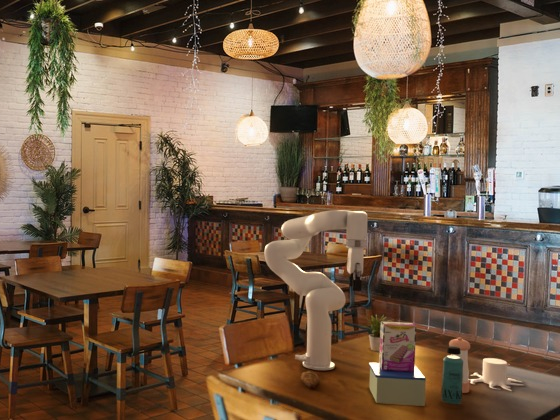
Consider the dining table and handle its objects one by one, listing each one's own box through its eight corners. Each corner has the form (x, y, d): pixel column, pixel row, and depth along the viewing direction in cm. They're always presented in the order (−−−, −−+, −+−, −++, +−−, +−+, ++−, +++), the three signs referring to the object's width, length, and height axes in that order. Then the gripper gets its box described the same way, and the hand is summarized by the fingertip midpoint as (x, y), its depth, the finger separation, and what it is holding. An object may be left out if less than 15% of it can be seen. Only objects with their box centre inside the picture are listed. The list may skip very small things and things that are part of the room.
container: (376, 403, 220) (377, 377, 219) (369, 388, 235) (370, 364, 235) (424, 406, 217) (425, 380, 217) (414, 391, 233) (415, 367, 232)
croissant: (298, 377, 247) (298, 364, 247) (316, 378, 246) (316, 365, 246) (302, 389, 233) (302, 375, 233) (321, 390, 233) (321, 376, 233)
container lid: (375, 377, 219) (375, 375, 219) (368, 364, 235) (368, 362, 235) (425, 380, 217) (425, 377, 217) (415, 367, 232) (415, 364, 232)
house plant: (390, 356, 279) (391, 319, 278) (357, 351, 286) (359, 315, 285) (397, 349, 291) (398, 313, 290) (365, 344, 298) (366, 309, 297)
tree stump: (534, 385, 241) (535, 363, 241) (503, 393, 231) (504, 371, 231) (483, 371, 259) (484, 351, 258) (453, 378, 249) (454, 357, 248)
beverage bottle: (437, 402, 221) (439, 344, 220) (455, 401, 222) (457, 344, 221) (447, 408, 215) (449, 349, 214) (466, 408, 215) (468, 349, 215)
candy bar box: (382, 371, 224) (383, 324, 223) (378, 367, 229) (379, 321, 228) (415, 372, 223) (416, 325, 222) (411, 368, 228) (412, 322, 227)
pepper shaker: (473, 392, 232) (475, 340, 231) (453, 393, 231) (455, 340, 230) (462, 386, 239) (464, 335, 238) (443, 386, 238) (445, 335, 237)
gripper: (343, 241, 256) (342, 284, 256) (349, 245, 239) (347, 291, 239) (363, 242, 254) (362, 285, 255) (370, 246, 237) (368, 292, 238)
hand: (355, 288), depth 247 cm, fingers open, 9 cm apart
